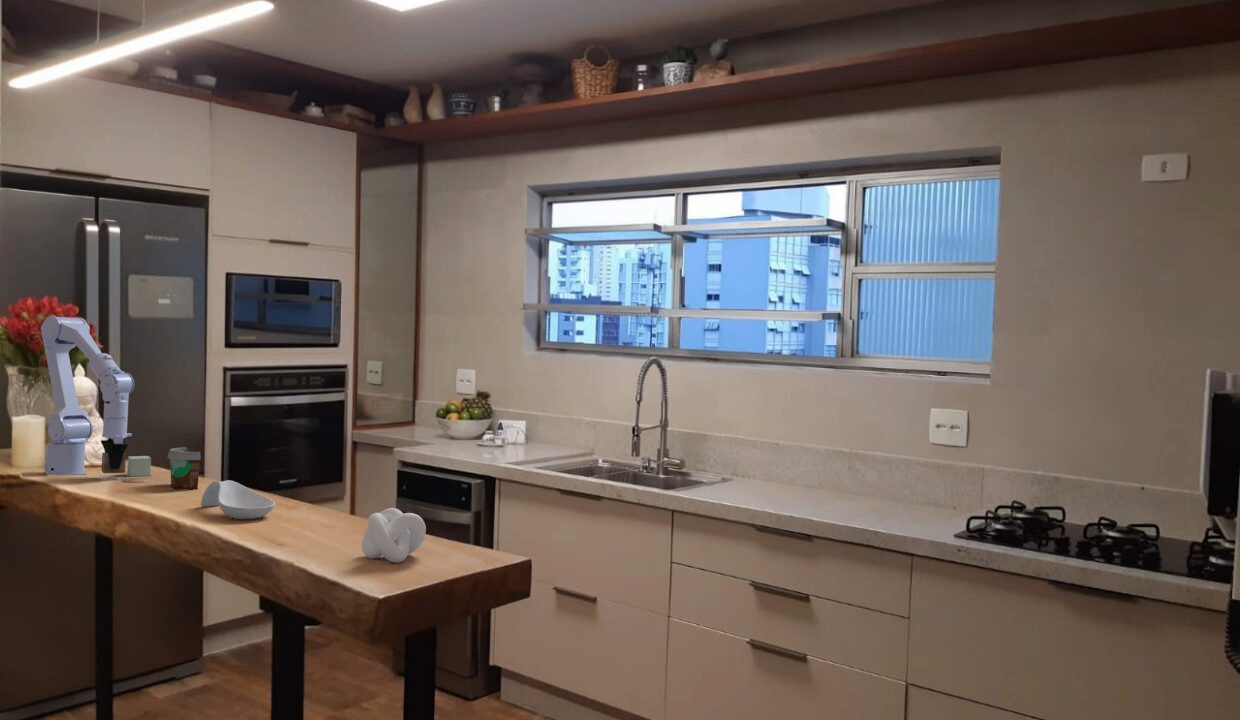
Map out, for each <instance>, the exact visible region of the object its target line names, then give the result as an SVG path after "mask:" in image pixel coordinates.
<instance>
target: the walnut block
mask: <svg viewBox="0 0 1240 720" xmlns="http://www.w3.org/2000/svg"><path fill="white" fill-rule="evenodd" d="M126 458H127V454H126V453H125V452H124V454H123V457H122V461H121V465H120V468H119V469H110V465H109V457H108V453H105V452H102V453H101V472H102V473H103V474H124V473H125V472H126V461H127V460H126ZM125 474H126V473H125Z"/></svg>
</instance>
